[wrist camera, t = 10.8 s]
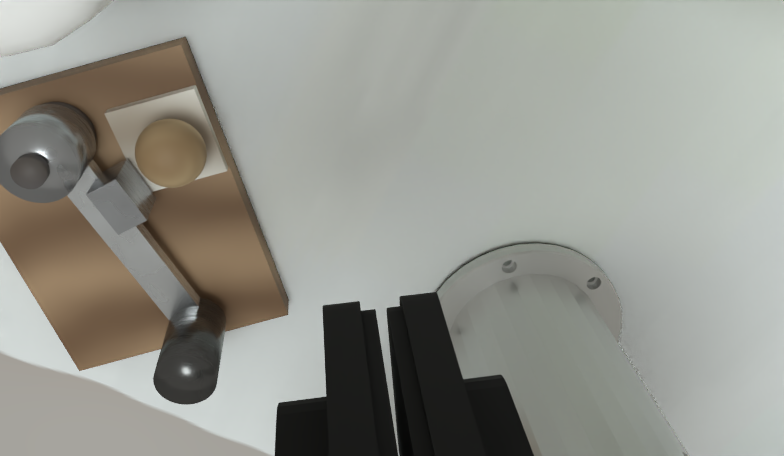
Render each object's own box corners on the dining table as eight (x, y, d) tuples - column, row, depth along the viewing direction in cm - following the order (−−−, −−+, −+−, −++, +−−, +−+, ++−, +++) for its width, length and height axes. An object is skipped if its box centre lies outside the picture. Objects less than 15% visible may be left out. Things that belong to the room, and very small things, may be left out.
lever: (-3, 125, 33) (-50, 169, 28) (72, 85, 32) (36, 123, 28) (185, 352, 40) (171, 415, 36) (249, 322, 40) (242, 382, 35)
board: (288, 299, 42) (286, 369, 36) (86, 354, 42) (54, 431, 37) (185, 37, 34) (163, 74, 29) (-62, 105, 34) (-131, 156, 29)
